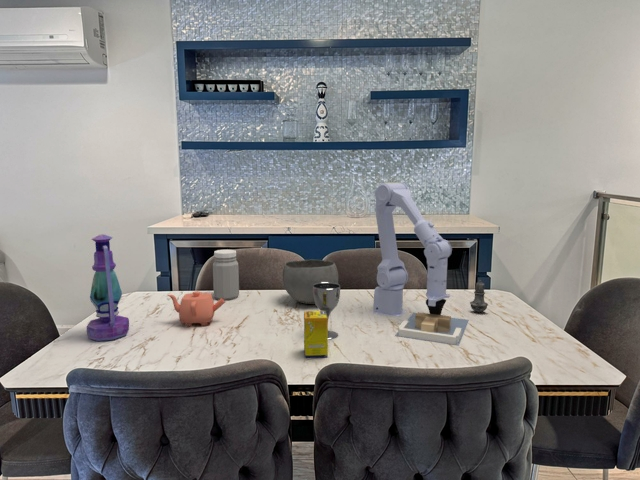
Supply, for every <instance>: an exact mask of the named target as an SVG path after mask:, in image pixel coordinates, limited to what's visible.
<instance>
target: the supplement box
mask: <svg viewBox="0 0 640 480" xmlns="http://www.w3.org/2000/svg"><path fill="white" fill-rule="evenodd" d="M328 325H329V318H327V315H326V311H320V310H306V311H303V330H304V331H303V333H304V334H303V345H304V346H303V349H304V350H303V351H304V355H305V356H304V357H305V359H323V358H324V359H325V358H326V359H327V358H329V357H328V355H329V351H328V350H329V349H328V348H329V347H328V343H329V342H328V340H329V339H328V331H329V328H328V327H329V326H328Z"/></svg>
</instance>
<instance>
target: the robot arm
mask: <svg viewBox="0 0 640 480" xmlns="http://www.w3.org/2000/svg"><path fill="white" fill-rule="evenodd" d="M374 197H375V206H374V209H375V218H376V225H377V232H378V239H379V246H380V253H381V259H382V260H381V262H380V263H379V265H377V267H376V269H377V274H376V282H377V284H378V286H376V287H375V288H374V292H373V312H372V313H373V314H376V315H385V316H392V317H401V316H403V314H404V313H405V312H406V309H403V301H404V300H403V298H404V295H403V294H404V288H405V285H406V284H407V282H408V280H409V273H408V270H407V269H406V266H405V263H404V261H403V260H401V259H400V258H399V252H398V245H397V237H396V231H395V223H394V216H393V213H394V211H395V209H396V208H397V207H398V208H401V209H402V211H403V212H404V213H405V215H406V216H407V217H408V219H409V220H410V221H411V222H412V224H413V225H414V227H413V232H414V233H415V235H416V237H417V238H418V239H419V241H420V242H421V244H422V245H423V247H424V250H423V254H424V256H425V258H426V265H427V275H426V276H427V278H426V293H425V297H426V298H427V299H425V305H426V306H427V307H426V308H427V309H428V312H429V313H428V314H436V315H442V311H443V308H444V306H445V304H446V302H447V299H450V297H451V295H450V294H448V293H447V277H448V259H449V258H450V256H451V255H452V251H453V247H452V245H451V242H450V241H448V239H447V240H446V239H444V238H443V237H442V236H441V235H440V234H439V232H438V231H437V230H436V228H435V227H434V226H435V224H434V223H433V222H432V221H430V220H428V219H425V218H424V216H423V215H422V213H421V212H420V209H419V207H418V206H417V204H416V203H415V201H414V199H413V197H412V191H411V190H410V189H409V187H408V185H407V184H406V183H405V182H397V183H395V182H394V183H393V182H392V183H386V182H382V183H380V184H379V185H378V186H377V188H376V189H375V191H374Z"/></svg>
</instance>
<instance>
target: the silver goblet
mask: <svg viewBox="0 0 640 480" xmlns="http://www.w3.org/2000/svg"><path fill="white" fill-rule="evenodd" d="M340 295H341V285H340V284H339V283H338V284H337V283H332V282H321V283H316V284H314V285H313V297H314V302H315V306H316V308H317V309H318V310H319V311H326V315H327V318H328V319H329V318H330V316H331V315H330V314H331V313H332V312H333V311H334V310H335V308H336V307H337V306H338V304H339V301H340V297H341V296H340ZM338 337H339V333H337V331H333V330H328V340H333V339H337V338H338Z"/></svg>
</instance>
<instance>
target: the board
mask: <svg viewBox="0 0 640 480" xmlns="http://www.w3.org/2000/svg"><path fill="white" fill-rule="evenodd" d="M417 313H418V312H412V313H411V315H410V316H409V317H408V319H407V320H406V321H409V328H408V329H413V330H420V331H421V329H418V328H415V315H416V314H417ZM469 321H470V319H464V318H458V317H457V318H456V317H451V327H450V331H449V333H446V332H439V331H437V333H441V334H447V335H453V334H454V331H455V329H456V328H462V330H461V337H460V339H459V342H458V343H456V344H449V343H442V342H436V341H429V340H422V339H416V338H409V337H403V336H398V331H397V332H396V334H394V337H399V338H406V339H412V340H419V341H425V342H432V343H436V344H437V343H438V344H444V345H451V346H460V344H461V341H462V339H463V337H464V334H465V331H466V328H467V326H468V323H469Z"/></svg>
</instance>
